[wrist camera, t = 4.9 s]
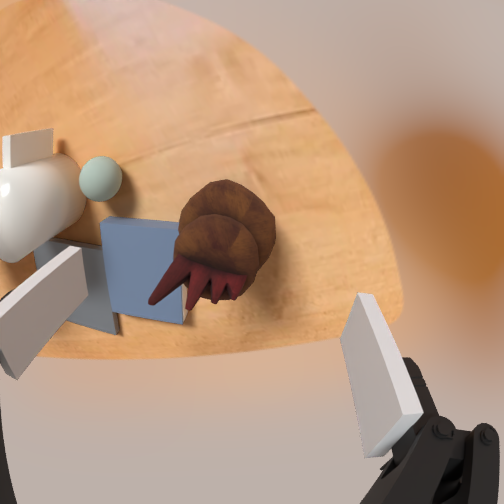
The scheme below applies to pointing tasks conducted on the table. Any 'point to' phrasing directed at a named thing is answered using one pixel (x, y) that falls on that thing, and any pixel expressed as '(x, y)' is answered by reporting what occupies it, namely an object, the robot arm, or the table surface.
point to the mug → (36, 193)
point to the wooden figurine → (218, 244)
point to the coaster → (98, 300)
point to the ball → (100, 178)
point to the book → (141, 267)
